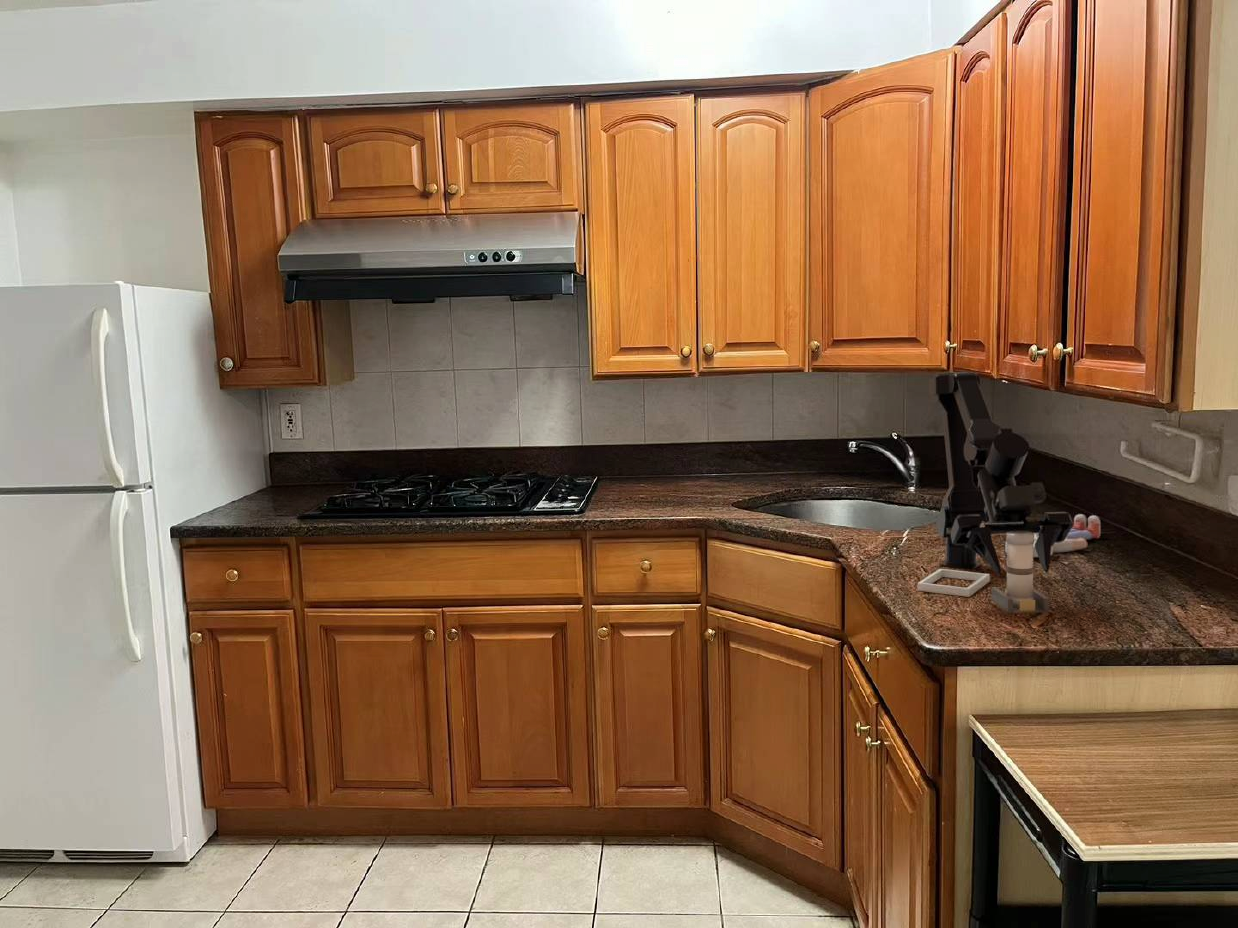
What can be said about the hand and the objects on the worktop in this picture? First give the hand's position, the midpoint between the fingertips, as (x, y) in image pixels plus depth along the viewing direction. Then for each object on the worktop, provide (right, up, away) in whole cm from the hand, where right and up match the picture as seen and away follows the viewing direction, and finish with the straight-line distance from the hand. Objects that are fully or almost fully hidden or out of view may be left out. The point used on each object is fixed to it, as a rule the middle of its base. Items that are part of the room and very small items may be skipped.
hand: (1023, 571), depth 158 cm
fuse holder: (0, -7, +2) cm, 7 cm away
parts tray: (-6, -5, +16) cm, 17 cm away
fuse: (0, -6, +2) cm, 6 cm away
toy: (+26, -1, +47) cm, 54 cm away
